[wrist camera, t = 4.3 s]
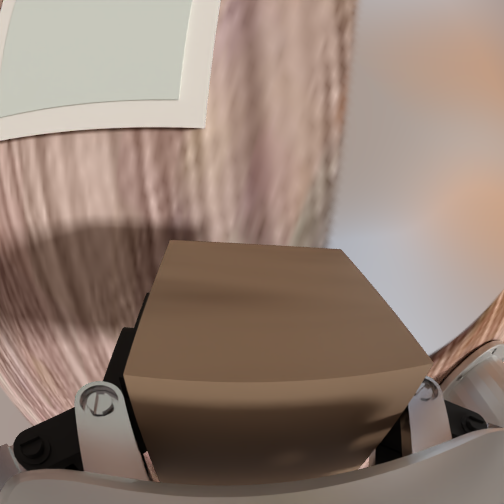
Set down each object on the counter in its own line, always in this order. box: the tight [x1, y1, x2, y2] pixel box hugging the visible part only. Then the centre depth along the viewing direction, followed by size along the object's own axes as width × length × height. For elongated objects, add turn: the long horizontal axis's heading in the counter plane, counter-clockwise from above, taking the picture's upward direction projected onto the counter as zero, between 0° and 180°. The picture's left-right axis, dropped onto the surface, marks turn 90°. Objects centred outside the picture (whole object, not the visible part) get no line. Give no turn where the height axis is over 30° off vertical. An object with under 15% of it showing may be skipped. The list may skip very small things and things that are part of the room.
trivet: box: [0, 0, 221, 141], centre depth 8 cm, size 12×12×1 cm
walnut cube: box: [123, 240, 433, 486], centre depth 9 cm, size 6×6×6 cm
